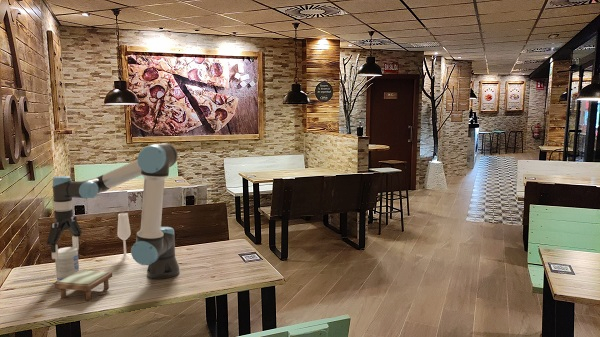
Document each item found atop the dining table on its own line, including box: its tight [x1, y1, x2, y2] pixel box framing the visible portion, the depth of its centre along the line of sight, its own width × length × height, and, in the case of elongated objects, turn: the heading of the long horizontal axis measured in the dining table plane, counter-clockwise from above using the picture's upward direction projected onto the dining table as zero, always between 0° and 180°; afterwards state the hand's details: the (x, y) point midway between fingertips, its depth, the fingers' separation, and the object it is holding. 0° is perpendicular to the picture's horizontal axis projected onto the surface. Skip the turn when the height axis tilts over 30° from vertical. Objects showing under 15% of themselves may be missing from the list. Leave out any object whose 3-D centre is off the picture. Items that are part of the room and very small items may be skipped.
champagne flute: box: [117, 212, 133, 260], centre depth 235 cm, size 7×7×24 cm
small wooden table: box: [54, 269, 113, 302], centre depth 190 cm, size 16×16×7 cm
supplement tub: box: [54, 246, 80, 282], centre depth 204 cm, size 10×10×15 cm
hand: (65, 254), depth 203 cm, fingers open, 13 cm apart
